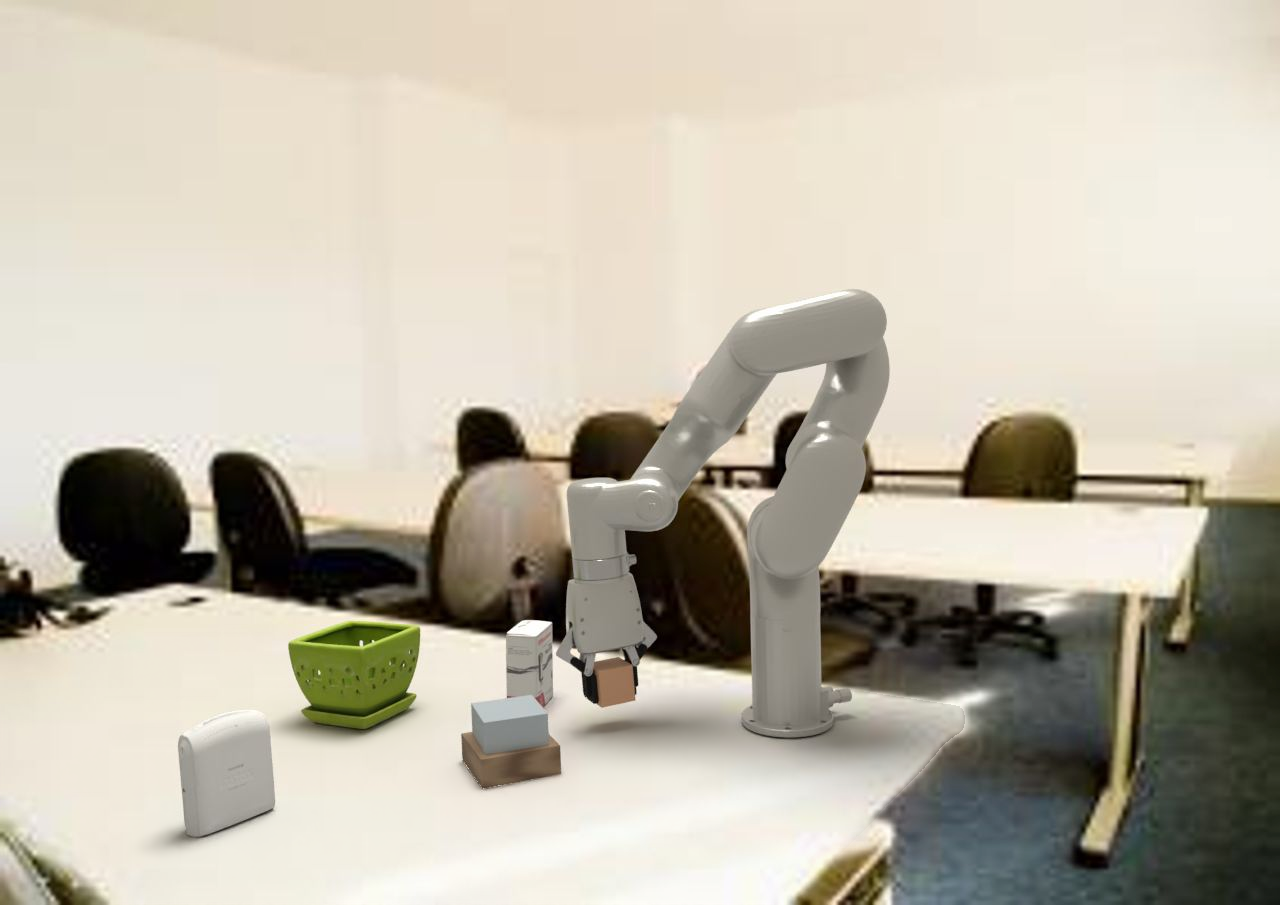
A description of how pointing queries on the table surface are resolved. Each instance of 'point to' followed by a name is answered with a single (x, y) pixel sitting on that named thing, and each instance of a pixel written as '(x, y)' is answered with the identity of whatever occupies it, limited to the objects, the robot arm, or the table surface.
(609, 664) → the terracotta cube
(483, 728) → the slate block
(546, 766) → the walnut slab
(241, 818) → the photo printer
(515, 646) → the ink box
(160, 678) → the table surface
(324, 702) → the flower pot
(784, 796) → the table surface
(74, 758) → the table surface
